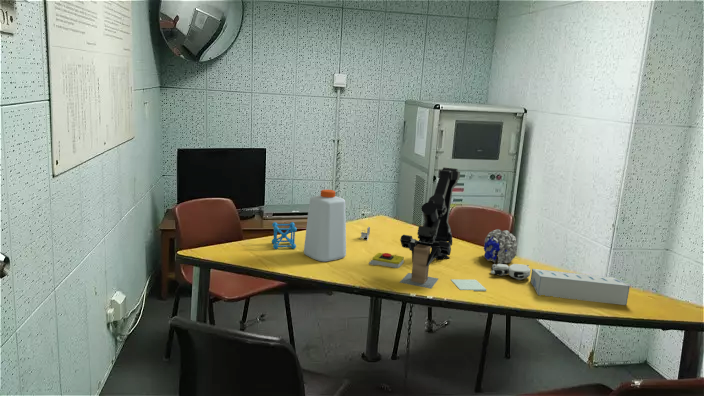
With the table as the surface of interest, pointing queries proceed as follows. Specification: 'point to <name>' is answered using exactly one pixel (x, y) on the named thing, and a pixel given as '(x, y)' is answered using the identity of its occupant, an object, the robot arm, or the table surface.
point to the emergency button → (387, 260)
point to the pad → (468, 285)
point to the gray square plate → (427, 284)
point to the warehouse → (580, 286)
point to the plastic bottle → (326, 227)
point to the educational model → (500, 246)
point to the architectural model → (365, 234)
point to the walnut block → (420, 263)
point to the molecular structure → (284, 235)
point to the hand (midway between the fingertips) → (420, 264)
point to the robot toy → (511, 270)
